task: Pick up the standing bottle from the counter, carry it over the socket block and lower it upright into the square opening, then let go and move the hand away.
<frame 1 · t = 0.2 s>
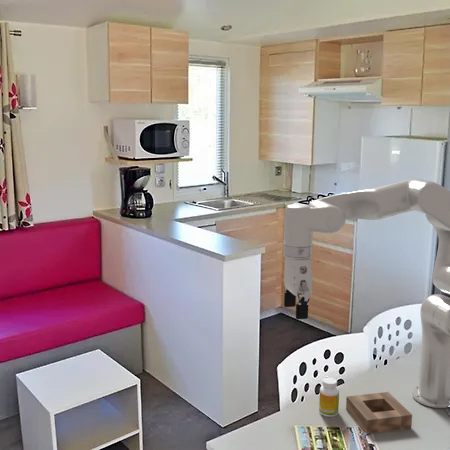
hand: (295, 312, 151), 30 cm above the table, tool pointing down, fingers open, 9 cm apart
socket block: (377, 418, 155), on the table
supplement bottle: (328, 413, 158), on the table
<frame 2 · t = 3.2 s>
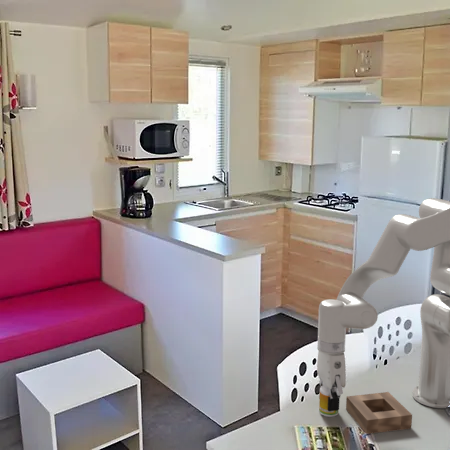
hand: (328, 404, 157), 3 cm above the table, tool pointing down, fingers closed on supplement bottle, 5 cm apart
supplement bottle: (328, 413, 158), on the table, touching gripper
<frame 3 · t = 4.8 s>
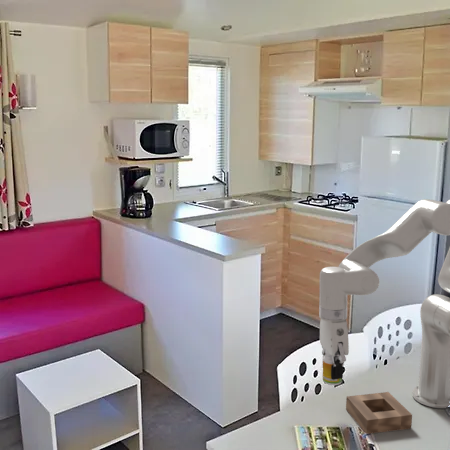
hand: (332, 373, 156), 12 cm above the table, tool pointing down, fingers closed on supplement bottle, 5 cm apart
supplement bottle: (332, 382, 156), point 9 cm above the table, touching gripper
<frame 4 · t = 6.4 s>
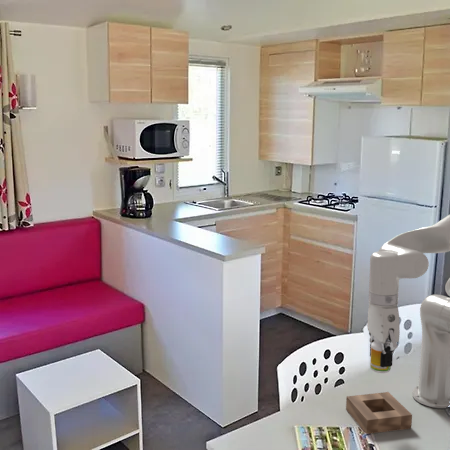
hand: (380, 360, 152), 17 cm above the table, tool pointing down, fingers closed on supplement bottle, 5 cm apart
supplement bottle: (380, 369, 152), point 14 cm above the table, touching gripper
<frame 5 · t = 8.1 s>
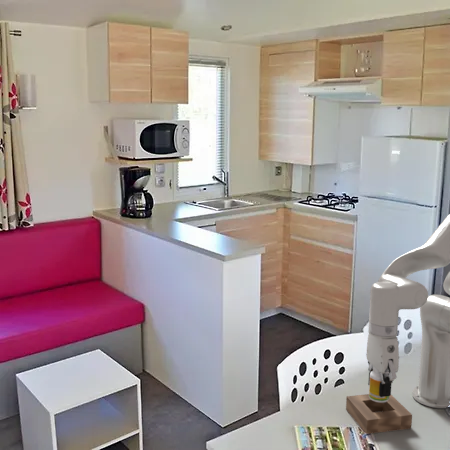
hand: (379, 390, 153), 9 cm above the table, tool pointing down, fingers closed on supplement bottle, 5 cm apart
supplement bottle: (378, 399, 153), point 6 cm above the table, touching gripper
when the fingers open (5 cm above the table, at t = 9.6 s): supplement bottle drops 3 cm, resting in socket block.
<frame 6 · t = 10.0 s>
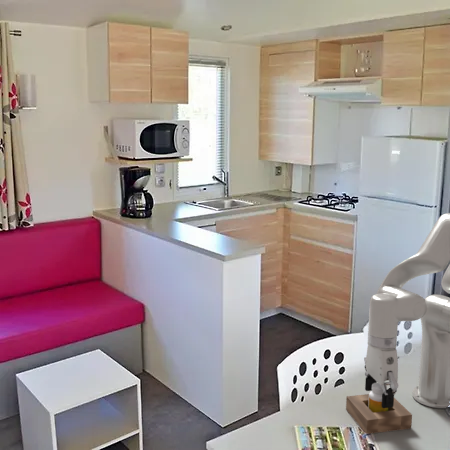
hand: (378, 398, 153), 6 cm above the table, tool pointing down, fingers open, 9 cm apart
supplement bottle: (377, 418, 155), resting in socket block
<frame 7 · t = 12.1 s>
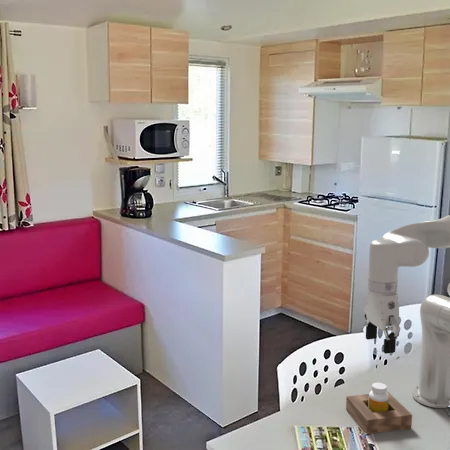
hand: (380, 345, 153), 21 cm above the table, tool pointing down, fingers open, 9 cm apart
nothing on the table moved.
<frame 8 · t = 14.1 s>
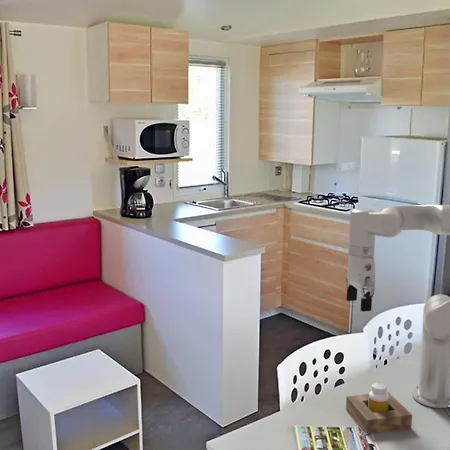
hand: (358, 305, 168), 26 cm above the table, tool pointing down, fingers open, 9 cm apart
nothing on the table moved.
at the end: supplement bottle 0.3 cm off-centre on the socket block, point 0.0 cm above the socket block's base; supplement bottle tilted 0°; the gripper is holding nothing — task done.
